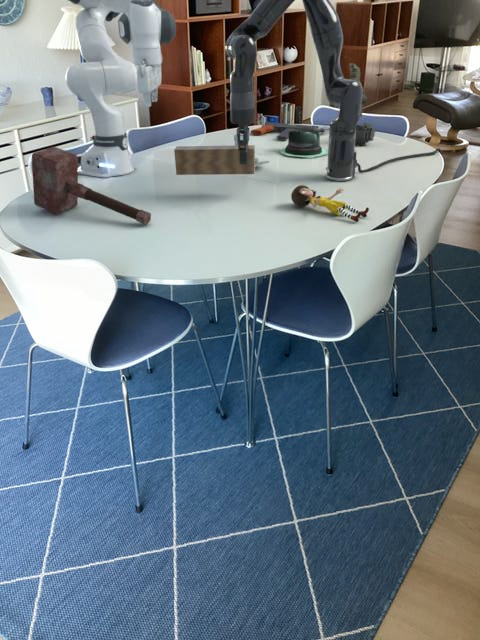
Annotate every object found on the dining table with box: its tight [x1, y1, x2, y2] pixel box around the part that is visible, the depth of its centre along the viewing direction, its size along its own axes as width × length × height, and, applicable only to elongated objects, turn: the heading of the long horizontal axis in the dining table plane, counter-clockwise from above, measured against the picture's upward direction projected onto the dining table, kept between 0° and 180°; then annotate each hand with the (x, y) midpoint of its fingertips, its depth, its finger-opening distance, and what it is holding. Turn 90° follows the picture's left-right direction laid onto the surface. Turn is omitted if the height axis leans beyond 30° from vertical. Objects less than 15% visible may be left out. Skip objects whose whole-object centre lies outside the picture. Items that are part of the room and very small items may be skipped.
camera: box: [233, 133, 270, 168], centre depth 214 cm, size 9×12×15 cm
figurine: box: [290, 184, 370, 223], centre depth 170 cm, size 13×8×25 cm
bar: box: [173, 144, 256, 176], centre depth 180 cm, size 26×5×8 cm, turn 86°
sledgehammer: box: [31, 146, 152, 226], centre depth 169 cm, size 17×10×40 cm
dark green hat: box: [279, 128, 328, 159], centre depth 234 cm, size 15×19×20 cm
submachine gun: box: [250, 121, 326, 141], centre depth 264 cm, size 32×3×25 cm
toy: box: [355, 122, 376, 146], centre depth 244 cm, size 9×9×15 cm
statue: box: [348, 62, 368, 125], centre depth 262 cm, size 11×9×30 cm
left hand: (151, 104), depth 184 cm, fingers open, 8 cm apart
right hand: (243, 161), depth 180 cm, fingers closed on bar, 4 cm apart
